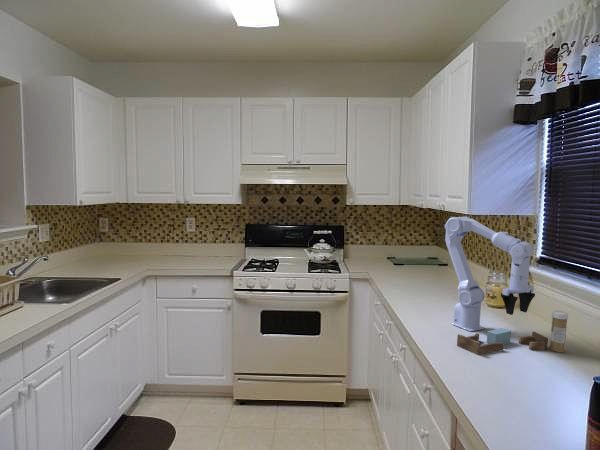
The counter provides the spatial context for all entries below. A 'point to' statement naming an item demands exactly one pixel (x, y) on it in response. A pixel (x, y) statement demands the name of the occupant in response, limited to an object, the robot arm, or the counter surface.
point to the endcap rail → (477, 344)
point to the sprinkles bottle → (558, 330)
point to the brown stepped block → (534, 341)
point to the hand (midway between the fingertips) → (516, 312)
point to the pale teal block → (499, 336)
